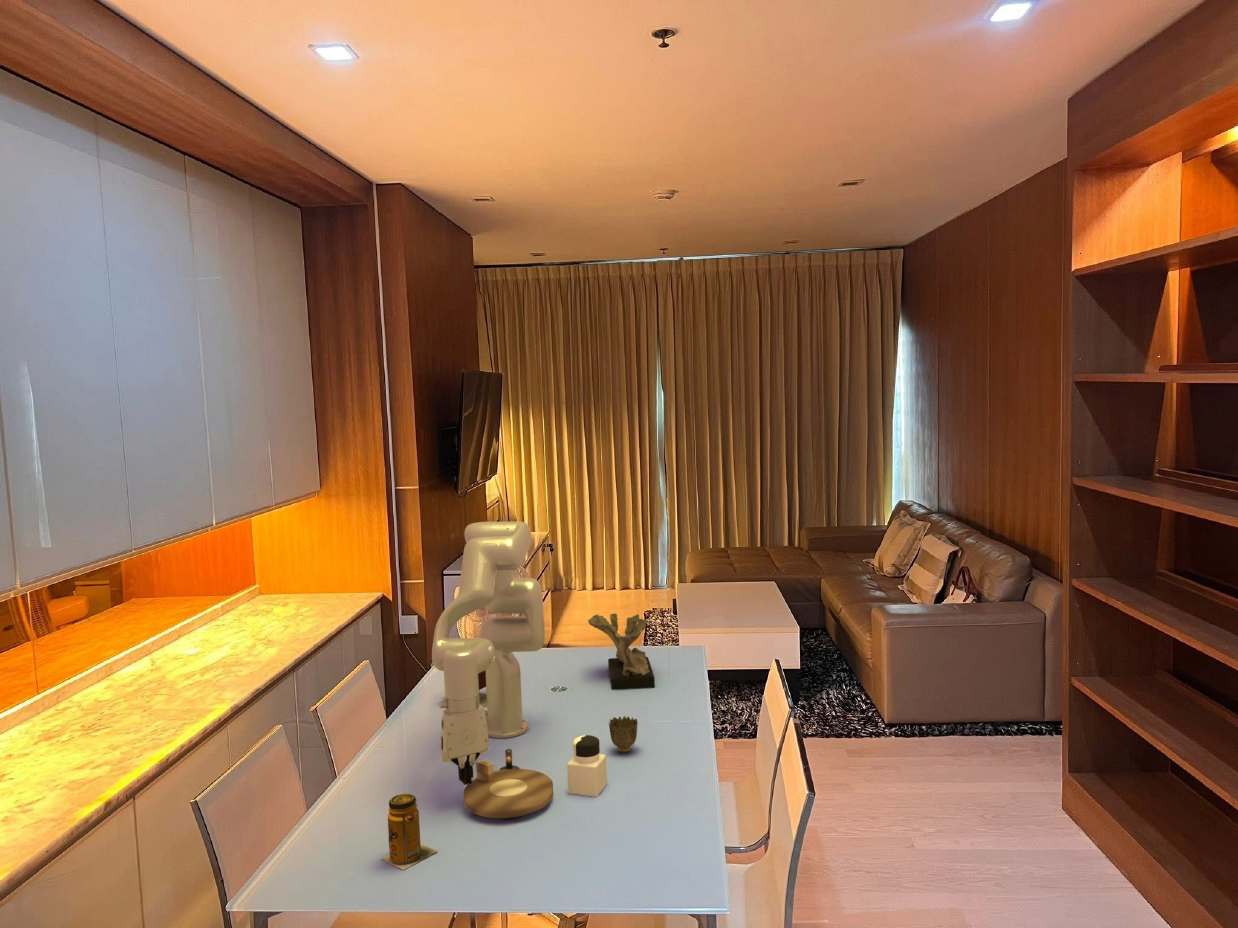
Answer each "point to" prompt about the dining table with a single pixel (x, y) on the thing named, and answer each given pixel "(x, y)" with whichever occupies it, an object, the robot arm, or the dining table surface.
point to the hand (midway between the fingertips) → (466, 781)
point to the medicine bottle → (587, 767)
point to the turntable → (506, 791)
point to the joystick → (509, 761)
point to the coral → (626, 654)
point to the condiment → (405, 833)
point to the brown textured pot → (623, 733)
